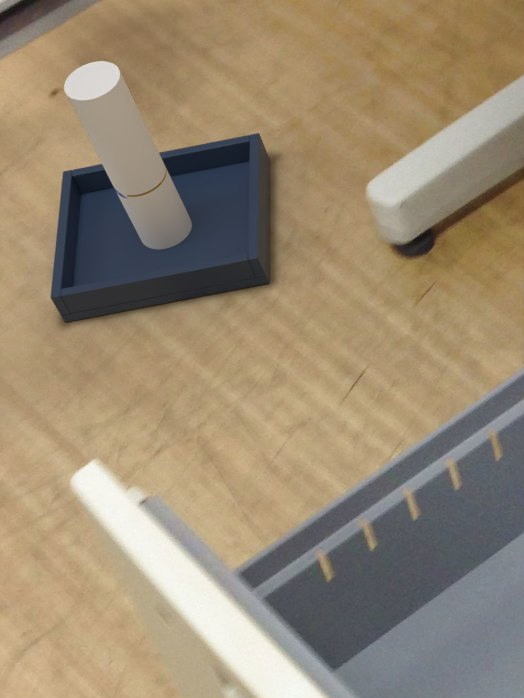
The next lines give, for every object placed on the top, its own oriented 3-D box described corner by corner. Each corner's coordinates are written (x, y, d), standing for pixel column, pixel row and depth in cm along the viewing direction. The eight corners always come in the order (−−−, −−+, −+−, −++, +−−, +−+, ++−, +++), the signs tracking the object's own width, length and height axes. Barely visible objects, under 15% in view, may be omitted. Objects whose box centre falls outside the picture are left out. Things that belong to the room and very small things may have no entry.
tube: (200, 213, 145) (129, 63, 133) (178, 251, 143) (104, 102, 131) (153, 209, 146) (79, 59, 134) (131, 246, 144) (54, 98, 132)
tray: (64, 322, 142) (50, 297, 139) (76, 196, 150) (62, 171, 148) (269, 283, 141) (257, 257, 138) (269, 158, 149) (259, 132, 147)
